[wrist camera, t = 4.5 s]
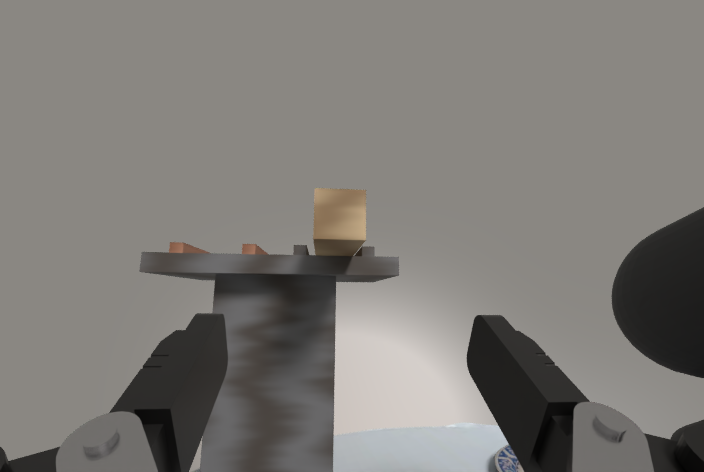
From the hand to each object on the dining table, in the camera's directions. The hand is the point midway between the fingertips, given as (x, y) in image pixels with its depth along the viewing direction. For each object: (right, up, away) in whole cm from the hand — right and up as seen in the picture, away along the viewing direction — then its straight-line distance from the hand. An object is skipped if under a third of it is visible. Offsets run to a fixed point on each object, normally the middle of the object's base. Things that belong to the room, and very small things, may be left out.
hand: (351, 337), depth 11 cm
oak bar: (-2, +1, +19) cm, 19 cm away
